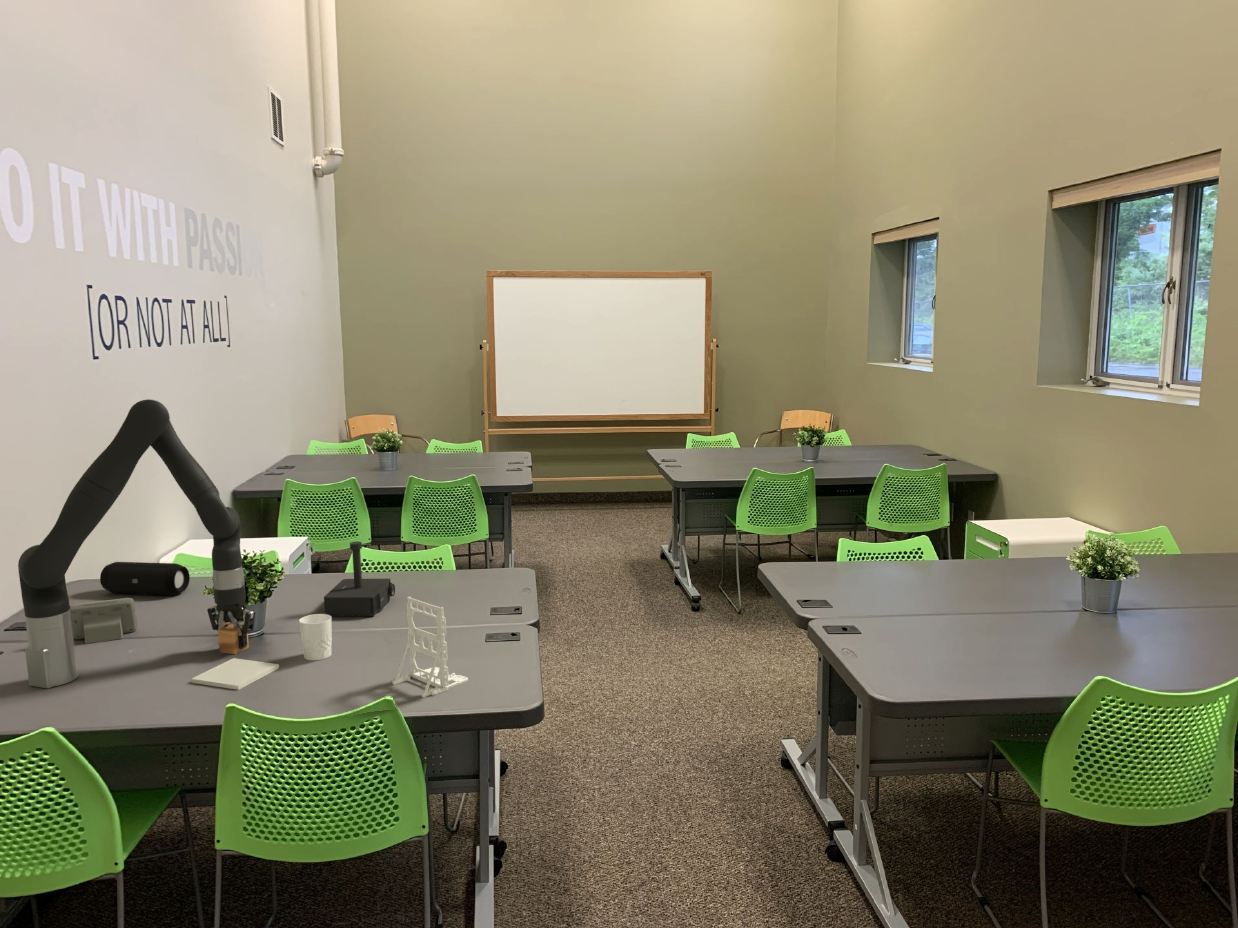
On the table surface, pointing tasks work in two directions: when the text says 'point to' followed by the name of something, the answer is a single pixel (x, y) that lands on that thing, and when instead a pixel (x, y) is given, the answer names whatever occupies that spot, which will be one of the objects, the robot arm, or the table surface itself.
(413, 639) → the film strip holder
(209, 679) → the pad
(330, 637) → the white cup
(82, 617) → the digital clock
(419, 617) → the table surface
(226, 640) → the orange block
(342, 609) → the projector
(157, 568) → the portable speaker
